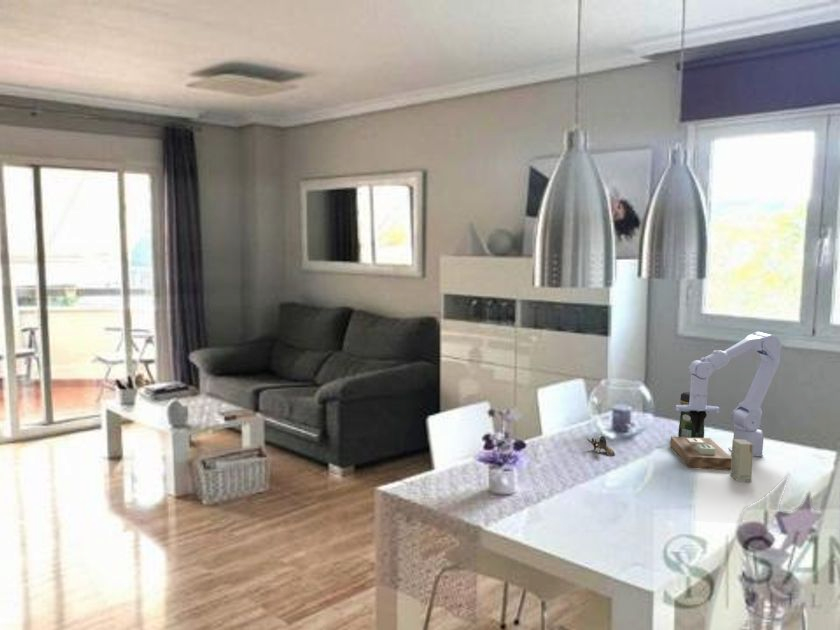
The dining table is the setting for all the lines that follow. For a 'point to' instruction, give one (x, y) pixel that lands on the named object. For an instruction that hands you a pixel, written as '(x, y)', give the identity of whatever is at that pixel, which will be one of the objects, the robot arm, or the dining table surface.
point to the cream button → (694, 441)
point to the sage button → (705, 449)
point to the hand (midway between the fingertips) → (696, 431)
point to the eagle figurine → (602, 446)
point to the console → (700, 460)
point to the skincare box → (742, 460)
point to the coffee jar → (688, 421)
